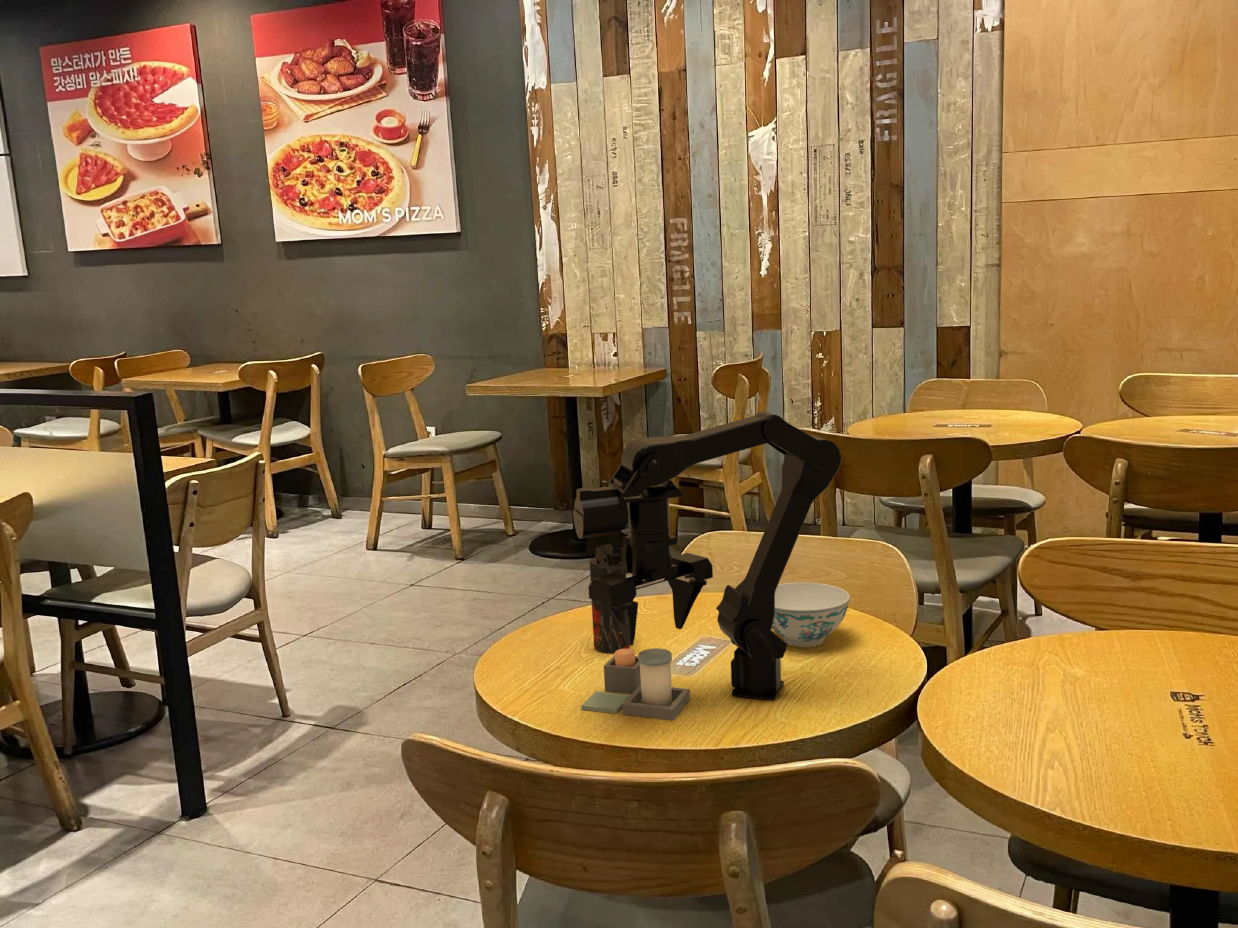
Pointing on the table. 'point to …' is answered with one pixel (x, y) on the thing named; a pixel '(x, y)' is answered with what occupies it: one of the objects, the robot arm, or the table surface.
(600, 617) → the deodorant
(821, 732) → the table surface
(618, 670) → the box
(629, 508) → the robot arm
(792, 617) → the chinaware
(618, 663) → the button
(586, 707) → the coaster
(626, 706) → the socket
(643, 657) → the cylinder
